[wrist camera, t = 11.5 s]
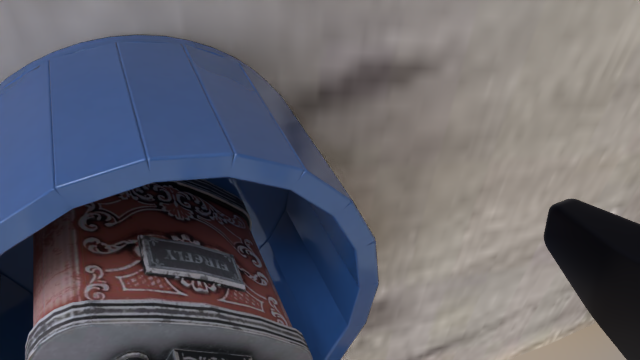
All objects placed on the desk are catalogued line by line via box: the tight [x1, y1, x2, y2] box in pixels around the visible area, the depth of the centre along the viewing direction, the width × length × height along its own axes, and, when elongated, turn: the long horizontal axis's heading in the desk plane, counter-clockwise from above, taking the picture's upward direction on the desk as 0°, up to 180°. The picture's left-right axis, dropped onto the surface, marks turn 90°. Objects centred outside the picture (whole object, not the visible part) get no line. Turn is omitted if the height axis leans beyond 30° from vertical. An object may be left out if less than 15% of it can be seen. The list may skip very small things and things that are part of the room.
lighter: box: [25, 179, 313, 360], centre depth 17 cm, size 8×3×10 cm, turn 55°
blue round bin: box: [0, 35, 379, 360], centre depth 19 cm, size 12×12×7 cm
